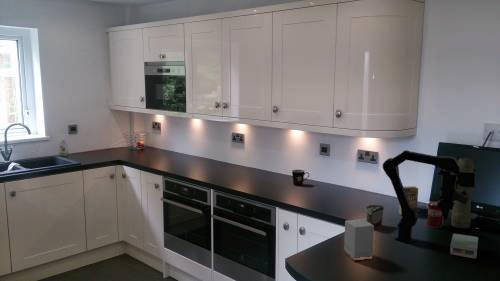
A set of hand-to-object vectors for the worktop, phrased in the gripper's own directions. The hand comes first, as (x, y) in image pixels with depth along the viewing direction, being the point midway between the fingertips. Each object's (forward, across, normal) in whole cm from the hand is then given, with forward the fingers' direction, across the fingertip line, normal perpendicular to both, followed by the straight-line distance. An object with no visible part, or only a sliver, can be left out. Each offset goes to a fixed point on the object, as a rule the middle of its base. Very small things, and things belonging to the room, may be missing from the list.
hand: (445, 219), depth 191 cm
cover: (+10, -1, -8) cm, 13 cm away
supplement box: (+13, -30, +30) cm, 44 cm away
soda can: (+13, +27, +7) cm, 31 cm away
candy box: (+13, +40, +22) cm, 47 cm away
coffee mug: (+13, +68, +98) cm, 120 cm away
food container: (+13, +11, +35) cm, 39 cm away
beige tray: (+13, 0, -8) cm, 15 cm away
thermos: (+13, +34, -4) cm, 37 cm away
